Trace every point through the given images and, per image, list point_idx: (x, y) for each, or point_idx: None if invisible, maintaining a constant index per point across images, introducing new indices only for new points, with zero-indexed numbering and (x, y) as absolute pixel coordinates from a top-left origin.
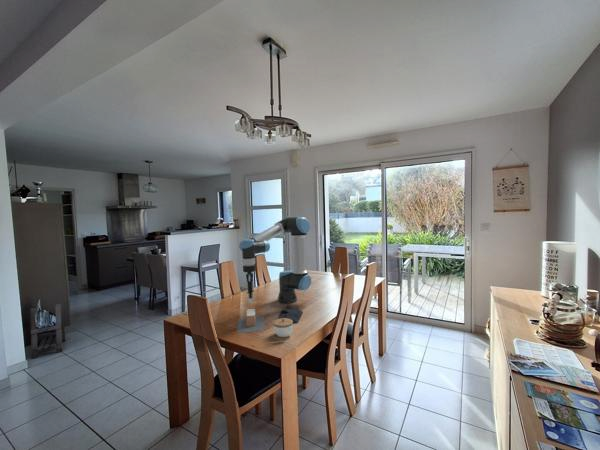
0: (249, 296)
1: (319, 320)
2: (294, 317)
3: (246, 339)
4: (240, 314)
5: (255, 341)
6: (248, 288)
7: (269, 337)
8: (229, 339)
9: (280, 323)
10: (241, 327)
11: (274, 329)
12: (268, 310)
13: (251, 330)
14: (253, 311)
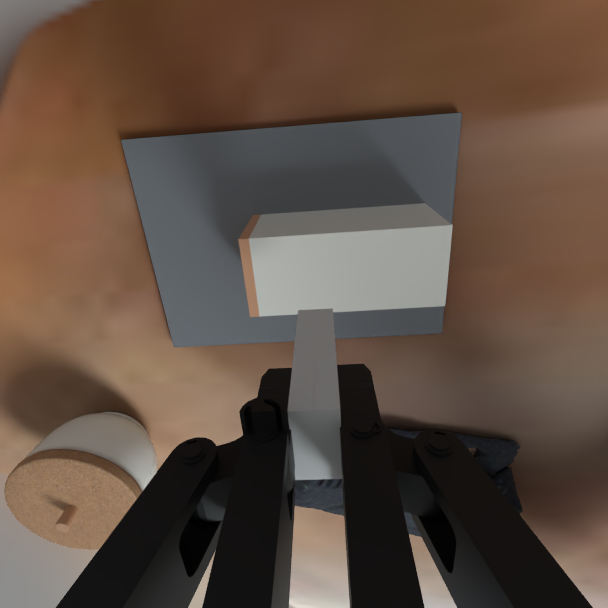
0: (259, 392)
1: (303, 580)
2: (337, 506)
3: (38, 234)
4: (596, 109)
5: (19, 295)
6: (103, 558)
7: (86, 370)
8: (17, 94)
9: (33, 496)
10: (229, 171)
11: (57, 432)
12: (580, 357)
13: (168, 260)
14: (368, 296)
